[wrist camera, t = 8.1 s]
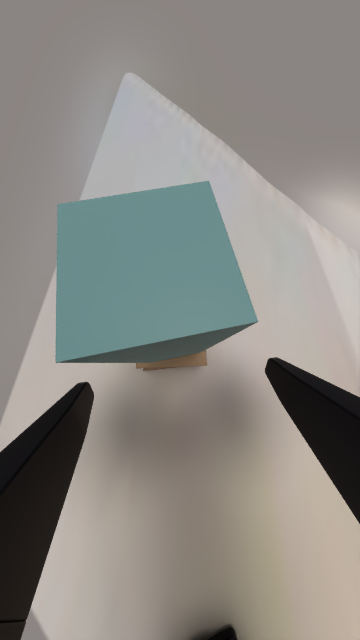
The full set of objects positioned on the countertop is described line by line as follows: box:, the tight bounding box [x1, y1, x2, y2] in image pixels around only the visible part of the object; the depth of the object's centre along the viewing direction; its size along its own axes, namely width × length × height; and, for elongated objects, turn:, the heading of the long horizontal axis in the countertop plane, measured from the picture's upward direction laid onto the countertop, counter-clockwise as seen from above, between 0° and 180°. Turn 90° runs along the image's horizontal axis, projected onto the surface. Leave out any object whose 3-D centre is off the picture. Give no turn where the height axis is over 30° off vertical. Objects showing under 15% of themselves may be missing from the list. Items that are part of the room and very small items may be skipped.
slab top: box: [136, 350, 207, 368], centre depth 17 cm, size 7×7×2 cm
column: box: [56, 181, 258, 363], centre depth 10 cm, size 5×5×12 cm
